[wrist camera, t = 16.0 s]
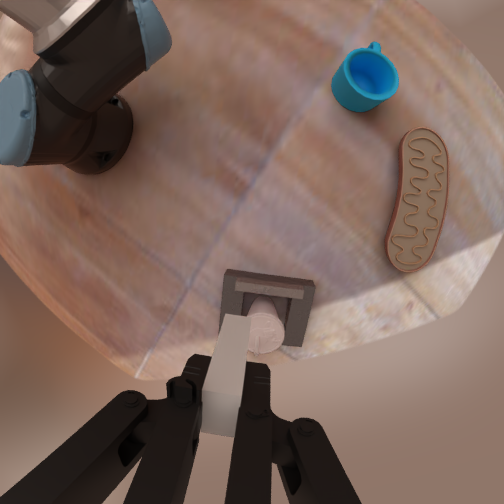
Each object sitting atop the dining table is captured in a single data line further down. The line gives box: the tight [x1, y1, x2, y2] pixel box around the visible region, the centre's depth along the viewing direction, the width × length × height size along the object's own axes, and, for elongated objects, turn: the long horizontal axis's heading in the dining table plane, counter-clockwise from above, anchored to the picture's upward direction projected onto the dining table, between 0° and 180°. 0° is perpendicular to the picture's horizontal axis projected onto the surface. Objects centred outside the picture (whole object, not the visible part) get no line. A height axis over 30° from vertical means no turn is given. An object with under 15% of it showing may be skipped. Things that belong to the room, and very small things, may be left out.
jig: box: [218, 269, 315, 347], centre depth 45 cm, size 14×11×5 cm
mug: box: [331, 42, 399, 112], centre depth 33 cm, size 12×8×8 cm
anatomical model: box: [385, 127, 449, 272], centre depth 39 cm, size 23×10×5 cm, turn 173°
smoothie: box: [246, 296, 285, 357], centre depth 41 cm, size 6×6×14 cm
